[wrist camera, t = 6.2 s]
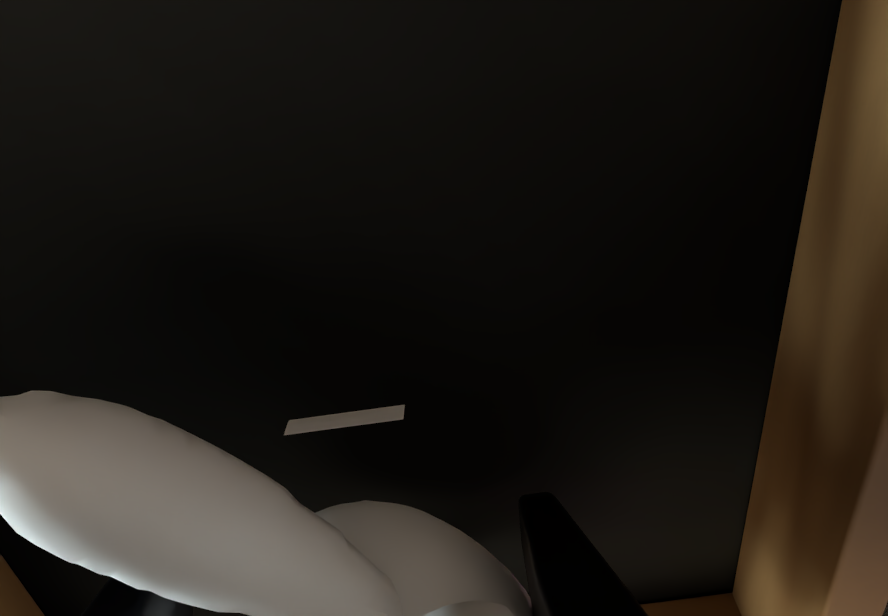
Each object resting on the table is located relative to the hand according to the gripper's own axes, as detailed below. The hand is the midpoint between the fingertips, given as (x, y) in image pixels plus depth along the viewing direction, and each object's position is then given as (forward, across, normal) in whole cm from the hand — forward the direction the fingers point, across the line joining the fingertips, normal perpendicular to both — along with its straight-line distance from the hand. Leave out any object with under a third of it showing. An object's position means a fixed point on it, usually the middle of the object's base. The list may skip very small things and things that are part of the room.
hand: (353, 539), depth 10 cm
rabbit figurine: (+2, 0, -1) cm, 2 cm away
